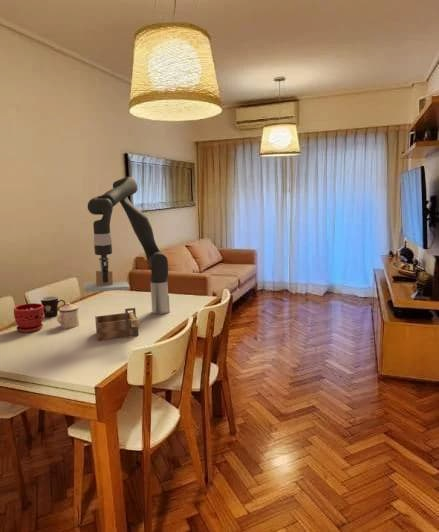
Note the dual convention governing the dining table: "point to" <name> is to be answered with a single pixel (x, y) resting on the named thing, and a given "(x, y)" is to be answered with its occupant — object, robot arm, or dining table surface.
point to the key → (133, 320)
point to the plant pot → (29, 317)
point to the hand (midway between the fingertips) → (105, 281)
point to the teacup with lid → (68, 316)
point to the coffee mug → (50, 306)
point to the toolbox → (115, 326)
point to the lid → (106, 284)
